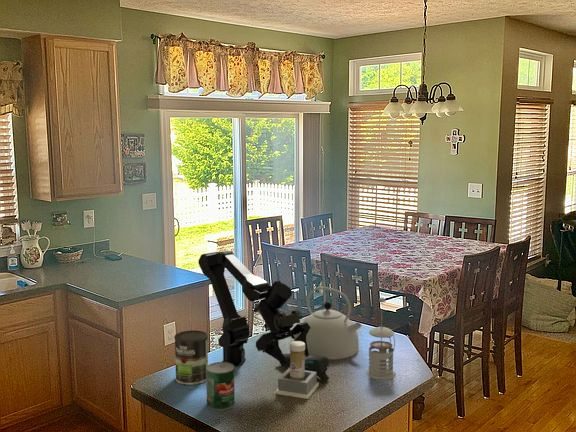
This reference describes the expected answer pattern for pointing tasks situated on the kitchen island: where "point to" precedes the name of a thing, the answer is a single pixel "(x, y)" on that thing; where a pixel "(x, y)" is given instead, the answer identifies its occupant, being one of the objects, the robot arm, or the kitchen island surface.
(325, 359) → the gun
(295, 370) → the sprinkles bottle
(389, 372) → the french press
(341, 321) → the kettle
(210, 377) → the canned tomato
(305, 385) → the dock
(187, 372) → the coffee can
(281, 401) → the kitchen island surface
